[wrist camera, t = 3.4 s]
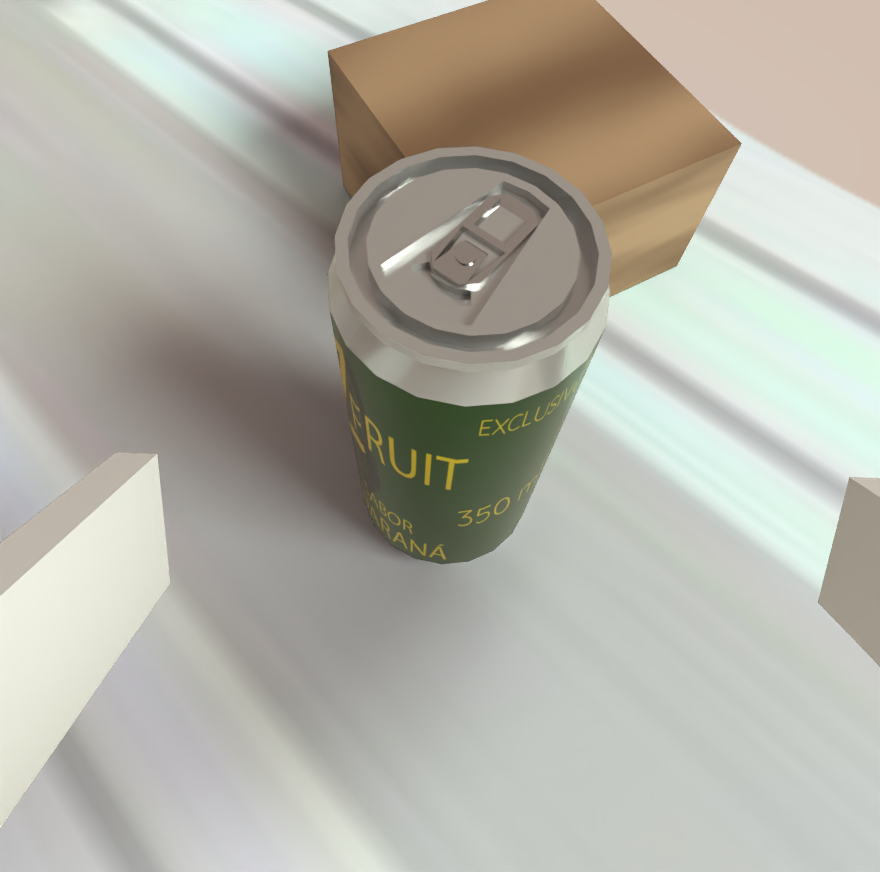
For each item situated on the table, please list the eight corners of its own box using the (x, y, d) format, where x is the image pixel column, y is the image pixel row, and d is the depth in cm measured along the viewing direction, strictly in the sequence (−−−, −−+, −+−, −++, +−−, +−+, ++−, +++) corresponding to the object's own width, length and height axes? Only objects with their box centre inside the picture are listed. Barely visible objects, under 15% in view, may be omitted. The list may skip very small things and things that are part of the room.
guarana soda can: (432, 392, 24) (448, 98, 14) (555, 481, 23) (681, 232, 12) (330, 501, 22) (255, 258, 12) (457, 605, 21) (506, 439, 10)
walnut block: (343, 185, 29) (327, 51, 23) (542, 112, 31) (569, -26, 26) (462, 365, 25) (476, 255, 20) (676, 266, 27) (741, 143, 22)
